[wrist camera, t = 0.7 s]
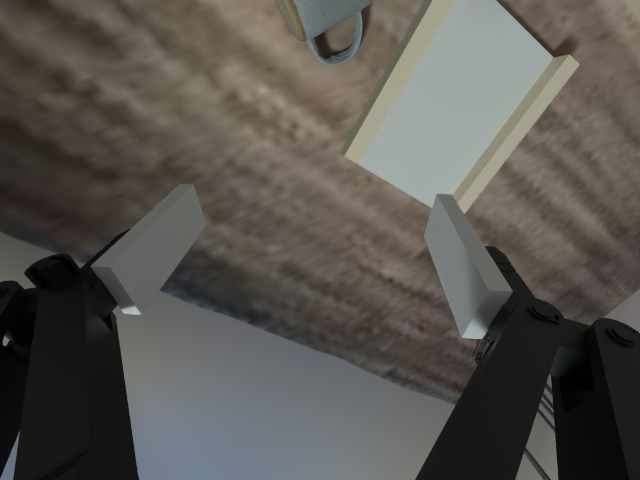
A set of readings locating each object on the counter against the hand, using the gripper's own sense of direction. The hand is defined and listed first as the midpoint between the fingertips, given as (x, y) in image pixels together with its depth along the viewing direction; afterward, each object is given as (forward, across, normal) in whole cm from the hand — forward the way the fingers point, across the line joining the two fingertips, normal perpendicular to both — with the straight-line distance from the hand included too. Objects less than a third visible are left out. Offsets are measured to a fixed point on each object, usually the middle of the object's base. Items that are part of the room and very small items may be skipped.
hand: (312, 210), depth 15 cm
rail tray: (+26, +14, 0) cm, 30 cm away
